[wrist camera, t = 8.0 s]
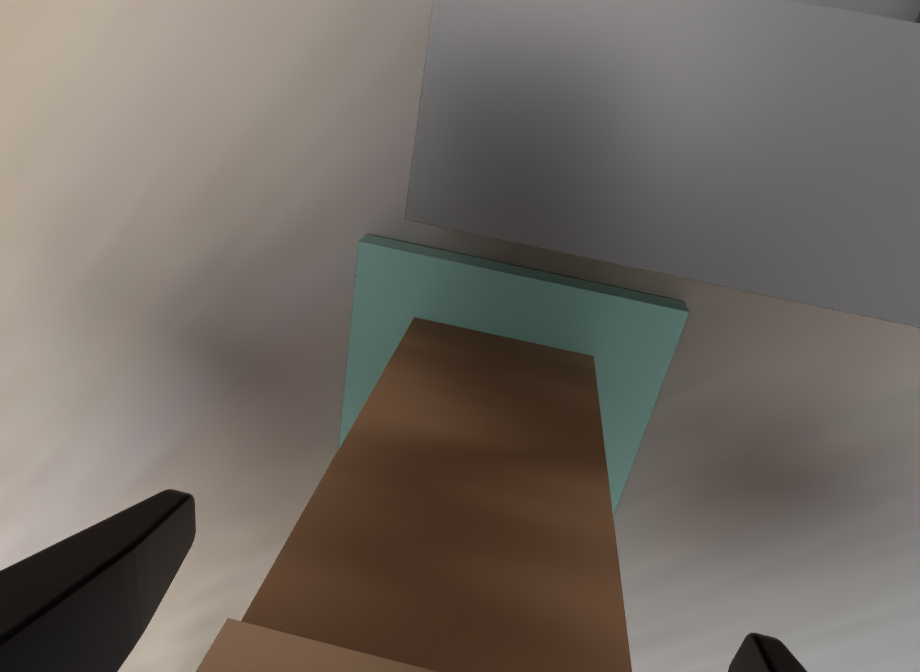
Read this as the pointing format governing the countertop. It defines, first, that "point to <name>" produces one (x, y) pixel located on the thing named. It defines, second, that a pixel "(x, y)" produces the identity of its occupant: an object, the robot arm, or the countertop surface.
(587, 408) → the plug
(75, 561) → the robot arm
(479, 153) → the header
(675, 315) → the mat
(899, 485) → the countertop surface
